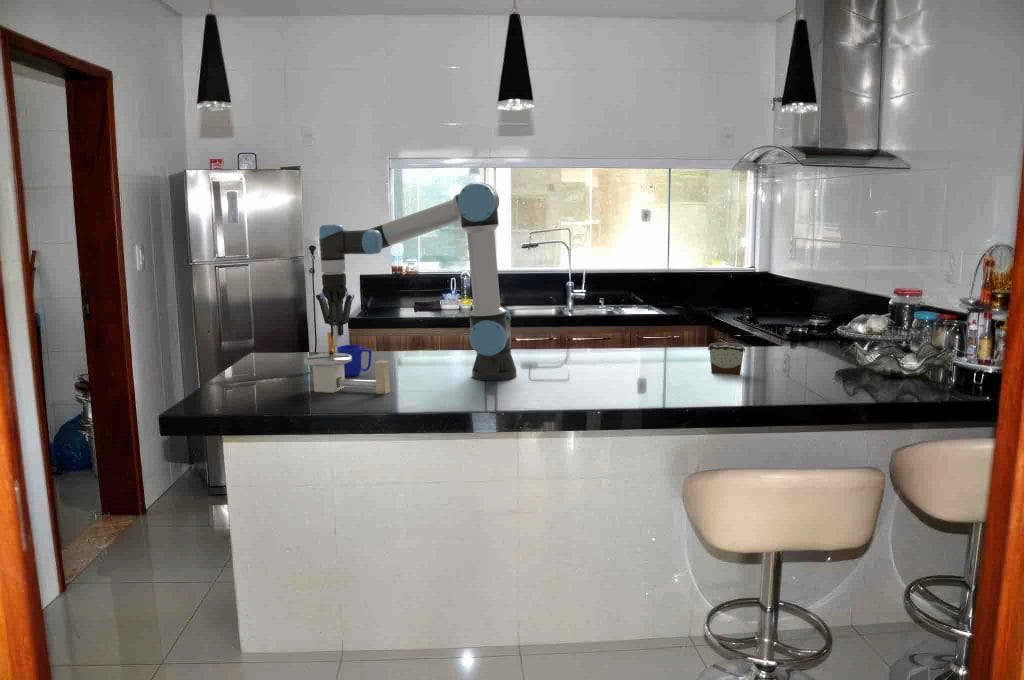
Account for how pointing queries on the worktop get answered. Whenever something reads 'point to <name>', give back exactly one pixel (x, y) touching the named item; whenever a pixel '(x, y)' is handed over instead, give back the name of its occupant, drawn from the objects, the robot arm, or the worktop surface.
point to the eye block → (327, 378)
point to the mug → (354, 359)
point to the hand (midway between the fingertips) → (338, 345)
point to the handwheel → (328, 356)
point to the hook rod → (380, 384)
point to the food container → (726, 358)
